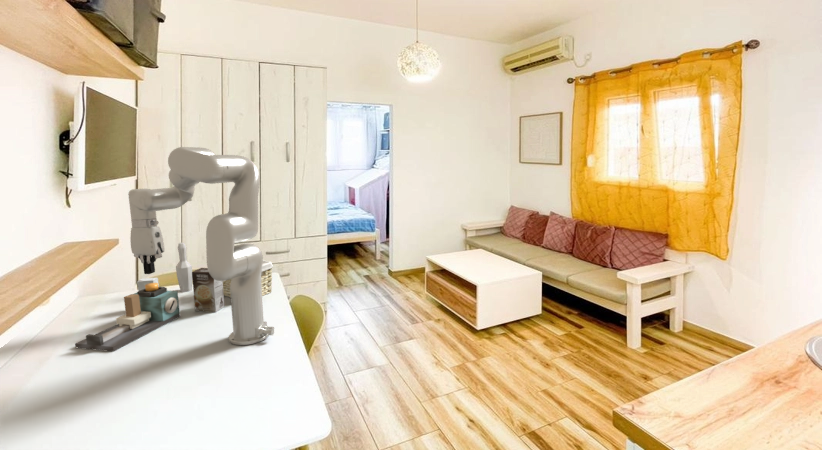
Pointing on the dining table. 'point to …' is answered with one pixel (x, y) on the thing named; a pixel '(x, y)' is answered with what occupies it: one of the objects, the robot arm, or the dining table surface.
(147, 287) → the orange rounded knob
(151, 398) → the dining table surface
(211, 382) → the dining table surface
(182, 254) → the faceted bottle
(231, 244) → the robot arm
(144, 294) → the rail board
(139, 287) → the skincare box
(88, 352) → the dining table surface
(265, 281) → the storage basket
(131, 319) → the carriage
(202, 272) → the coffee box
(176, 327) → the dining table surface
